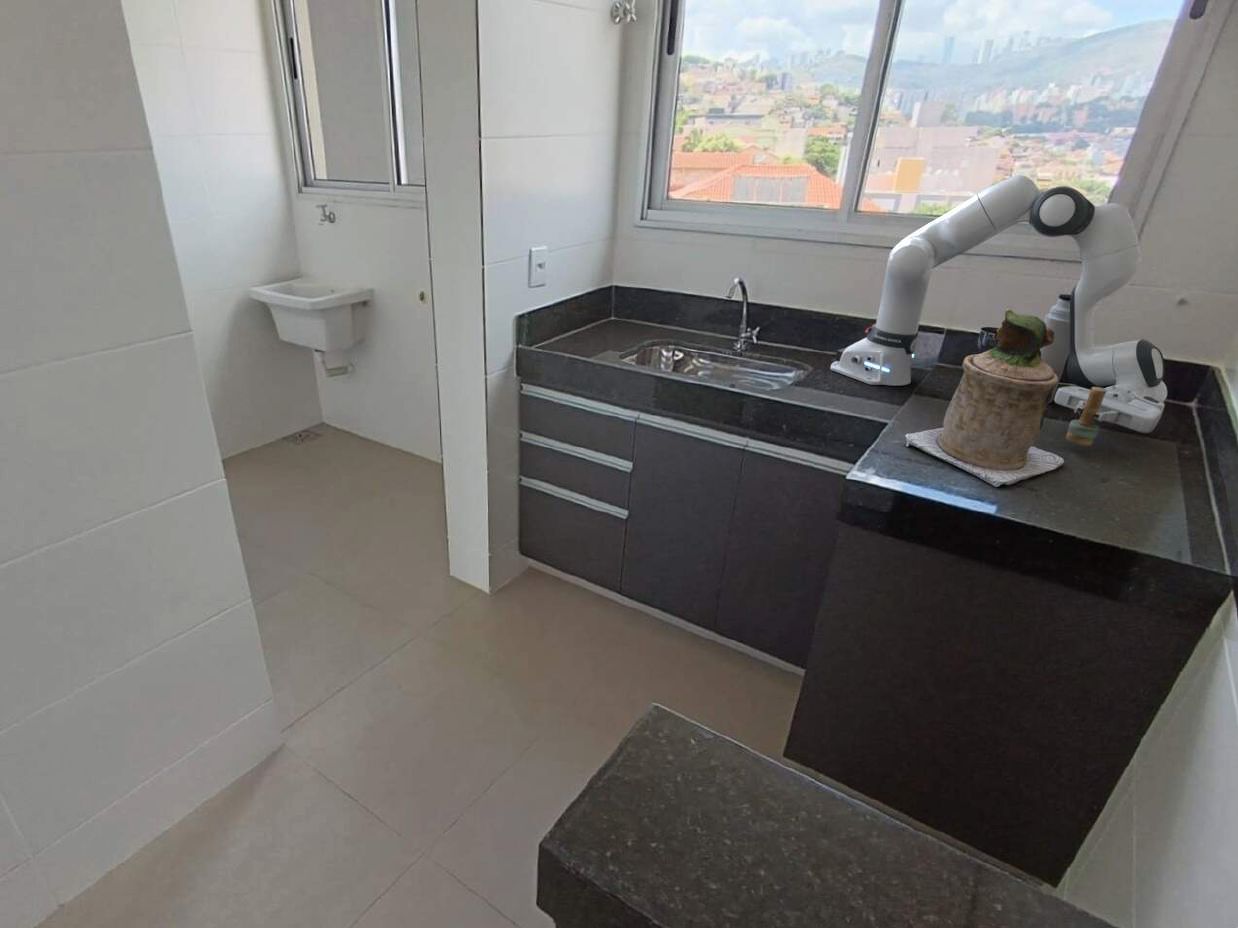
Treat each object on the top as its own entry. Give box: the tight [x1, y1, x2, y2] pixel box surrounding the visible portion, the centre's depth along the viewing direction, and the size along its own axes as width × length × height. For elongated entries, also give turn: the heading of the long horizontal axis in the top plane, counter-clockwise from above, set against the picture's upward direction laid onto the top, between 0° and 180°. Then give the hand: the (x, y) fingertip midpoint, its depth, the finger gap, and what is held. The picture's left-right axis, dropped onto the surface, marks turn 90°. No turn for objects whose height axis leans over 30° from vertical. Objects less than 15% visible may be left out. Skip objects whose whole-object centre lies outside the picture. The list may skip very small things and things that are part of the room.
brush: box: [1065, 387, 1107, 447], centre depth 151 cm, size 6×6×12 cm
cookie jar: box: [904, 308, 1065, 488], centre depth 143 cm, size 25×25×32 cm
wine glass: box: [977, 326, 1000, 354], centre depth 192 cm, size 8×8×15 cm
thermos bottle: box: [1040, 293, 1071, 404], centre depth 179 cm, size 8×8×28 cm
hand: (1087, 413), depth 150 cm, fingers closed on brush, 3 cm apart
